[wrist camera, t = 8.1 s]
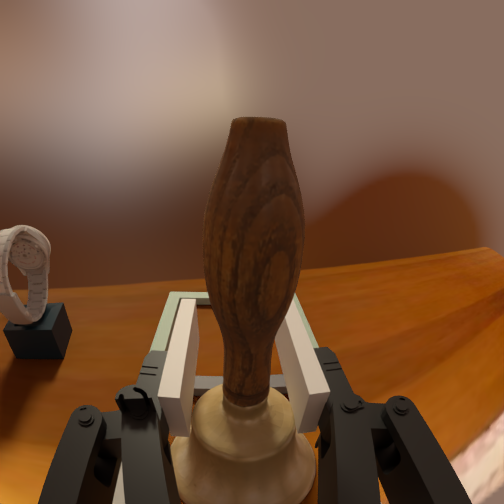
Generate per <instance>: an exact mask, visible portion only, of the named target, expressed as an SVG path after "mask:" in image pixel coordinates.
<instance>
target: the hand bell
mask: <svg viewBox="0 0 504 504" xmlns="http://www.w3.org/2000/svg"><path fill="white" fill-rule="evenodd" d="M304 238H305V219H304V209H303V203H302V197H301V192H300V188H299V183H298V179H297V176H296V172H295V168H294V165H293V161H292V158H291V153H290V148H289V142H288V135H287V128H286V123H285V122H284V121H283V120H280V119H275V118H267V117H240V118H236V119H233V120H232V123H231V128H230V133H229V136H228V140H227V144H226V147H225V151H224V153H223V156H222V159H221V162H220V164H219V167H218V170H217V173H216V175H215V178H214V181H213V184H212V187H211V190H210V193H209V197H208V201H207V205H206V209H205V214H204V224H203V258H204V259H203V261H204V273H205V280H206V286H207V291H208V296H209V300H210V303H211V306H212V309H213V312H214V314H215V317H216V319H217V321H218V324H219V326H220V330H221V333H222V337H223V342H224V372H223V384H220V385H218V386H215V387H213V388H212V389H210V390H208V391H207V392H206V393H205V394H203V395H202V396H201V397H200V399H199V400H198V401H197V403H196V404H195V407H194V409H193V412H192V416H191V427H190V437H179V436H176V438H175V439H174V441H173V443H172V445H171V447H170V449H171V455H172V461H173V467H174V472H175V477H176V482H177V487H178V492H179V497H180V498H181V499H182V501H183V502H184V503H185V504H300V503H301V502H302V501H303V499H304V498H305V497H306V495H307V494H308V492H309V491H310V490H311V487H312V485H313V482H314V478H315V474H316V460H315V455H314V452H313V450H312V447H311V445H310V443H309V442H308V440H307V439H306V437H305V436H304V435H303V433H299V434H297V429H296V425H295V419H294V414H293V410H292V407H291V404H290V402H289V401H288V400H287V399H286V398H285V397H284V396H283V395H282V394H281V393H280V392H278V391H277V390H275V389H274V388H272V387H270V371H271V355H272V347H273V343H274V339H275V336H276V334H277V332H278V329H279V328H280V326H281V324H282V322H283V320H284V318H285V316H286V314H287V312H288V310H289V307H290V305H291V302H292V300H293V297H294V293H295V290H296V287H297V283H298V278H299V274H300V268H301V263H302V256H303V248H304Z"/></svg>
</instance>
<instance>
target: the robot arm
mask: <svg viewBox="0 0 504 504" xmlns="http://www.w3.org/2000/svg"><path fill="white" fill-rule="evenodd" d="M275 342H276V346H277V350H278V354H279V358H280V363H281V367H282V371H283V375H284V379H285V383H286V388H287V392H288V396H289V400H290V404H291V407H292V410H293V414H294V419H295V425H296V429H297V434H299V433H307V432H313V431H316V428H317V426H319V429H320V432H321V433H320V435H319V437H318V439H317V442H316V444H315V448H317V447H318V504H381V501H380V491H379V482H378V477H379V480H380V482H381V484H382V487H383V489H384V492H385V494H386V496H387V499H388V501H389V504H472V503H471V501H470V499H469V497H468V495H467V493H466V491H465V489H464V487H463V485H462V484H461V482H460V480H459V478H458V476H457V475H456V473H455V471H454V469H453V467H452V466H451V464H450V462H449V460H448V459H447V457H446V455H445V454H444V452H443V450H442V448H441V447H440V445H439V443H438V442H437V440H436V438H435V437H434V435H433V433H432V432H431V430H430V429H429V427H428V425H427V424H426V422H425V420H424V419H423V417H422V416H421V414H420V413H419V411H418V409H417V408H416V406H415V405H414V403H413V402H412V401H411V400H410V399H408V398H407V397H404V396H393V397H391V398H390V399H389V400H388V401H387V402H386V404H380V403H368V402H365V401H364V400H363V399H362V398H361V397H360V396H358V395H356V394H354V393H353V391H352V389H351V387H350V385H349V382H348V380H347V378H346V376H345V374H344V372H343V370H342V368H341V365H340V363H339V361H338V359H337V357H336V355H335V353H334V352H332V351H331V350H330V349H329V348H328V347H321V348H313V346H312V344H311V341H310V339H309V336H308V334H307V331H306V329H305V327H304V324H303V322H302V319H301V317H300V314H299V312H298V309H297V307H296V305H295V302H294V300H292V302H291V305H290V307H289V310H288V312H287V314H286V316H285V318H284V320H283V322H282V324H281V326H280V328H279V329H278V332H277V334H276V336H275ZM198 346H199V331H198V319H197V307H196V299H181V303H180V306H179V310H178V314H177V317H176V321H175V325H174V329H173V333H172V337H171V341H170V344H169V349H168V351H157V350H151V351H150V352H149V353H148V354H147V356H146V357H145V358H144V361H143V364H142V367H141V371H140V374H139V377H138V380H137V383H136V385H129V386H126V387H124V388H122V389H120V390H119V391H118V393H117V394H116V397H115V401H116V403H117V405H118V407H119V409H120V410H118V411H112V412H102V413H101V412H100V411H99V410H98V409H97V408H96V407H94V406H92V405H84V406H80V407H78V408H77V409H75V410H74V412H73V413H72V414H71V417H70V419H69V421H68V424H67V426H66V428H65V430H64V433H63V435H62V438H61V440H60V442H59V445H58V447H57V450H56V453H55V455H54V458H53V460H52V463H51V466H50V468H49V471H48V474H47V477H46V480H45V483H44V486H43V489H42V492H41V495H40V498H39V502H38V504H112V503H113V498H114V493H115V489H116V484H117V479H118V475H119V471H120V467H121V462H122V473H123V487H124V498H125V504H181V501H180V497H179V492H178V487H177V482H176V477H175V472H174V467H173V461H172V455H171V449H170V444H169V442H168V435H169V431H170V434H171V436H179V437H190V427H191V415H192V404H193V393H194V383H195V373H196V364H197V355H198Z"/></svg>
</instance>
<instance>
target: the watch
mask: <svg viewBox="0 0 504 504" xmlns="http://www.w3.org/2000/svg"><path fill="white" fill-rule="evenodd" d="M50 251H51V247H50V243H49V241H48V239H47V238H46V236H44V235H43V233H41V232H40V231H39V230H37V229H35V228H33V227H30V226H26V225H25V226H24V225H18V226H15V227H13V228H11V229H5V230H1V231H0V282H1V283H0V311H1V313H2V314H3V315H4V316H5V317H6V318H7V319H8V320H9V321H8V323H7V324H6V326H5V328H4V329H3V331H4V334H5V336H6V338H7V340H8V342H9V345H10V347H11V349H12V351H13V353H14V355H15V357H16V358H20V359H64V356H65V353H66V349H67V346H68V342H69V339H70V336H71V333H72V328H71V325H70V322H69V319H68V316H67V313H66V310H65V306H64V303H49V304H47V297H48V280H47V279H48V275H47V273H49V255H50ZM8 260H9V261H10V262H11V263H12V264H14V265H15V266H16V267H18V268H19V269H20V271H21V272H22V274H23V275H25V276H26V275H27V276H28V281H29V282H28V289H29V291H28V299H29V300H28V302H27V305H23V304H22V302H21V301H20V299H19V297H18V296H17V294H16V293H13V291H12V289H11V286H10V284H9V279H8V277H7V276H8V268H7V265H6V264H7V263H8ZM4 277H6V278H4ZM41 283H43V284H41Z"/></svg>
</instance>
